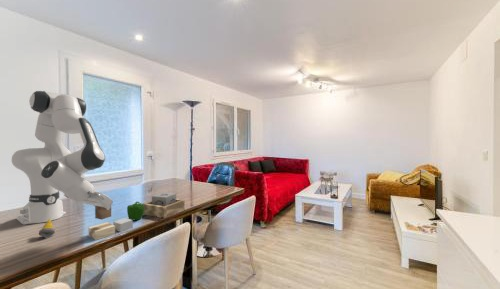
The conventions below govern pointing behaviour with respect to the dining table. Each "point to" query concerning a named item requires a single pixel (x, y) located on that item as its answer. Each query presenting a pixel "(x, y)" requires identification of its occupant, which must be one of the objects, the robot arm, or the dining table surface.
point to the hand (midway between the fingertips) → (104, 207)
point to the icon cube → (164, 199)
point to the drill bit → (47, 230)
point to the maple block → (101, 230)
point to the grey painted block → (123, 224)
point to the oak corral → (163, 208)
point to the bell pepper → (135, 211)
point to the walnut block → (102, 212)
